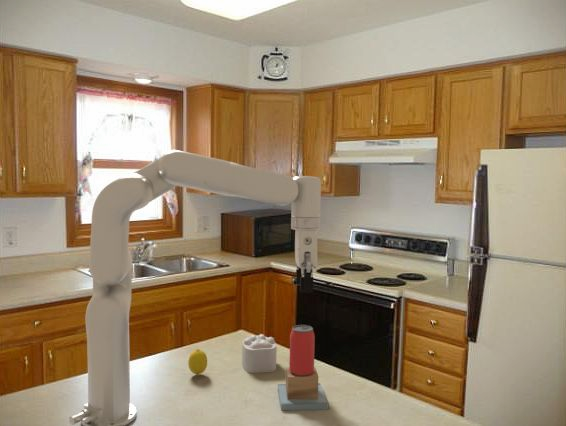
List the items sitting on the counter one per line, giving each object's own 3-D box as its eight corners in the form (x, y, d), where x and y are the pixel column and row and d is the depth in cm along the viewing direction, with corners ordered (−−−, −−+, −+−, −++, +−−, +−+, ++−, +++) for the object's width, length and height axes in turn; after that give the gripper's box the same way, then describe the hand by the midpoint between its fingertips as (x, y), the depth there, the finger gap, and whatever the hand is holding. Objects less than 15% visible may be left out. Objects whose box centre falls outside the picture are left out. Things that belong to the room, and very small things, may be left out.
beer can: (318, 371, 129) (320, 328, 128) (302, 379, 124) (304, 333, 124) (300, 364, 134) (301, 322, 133) (284, 371, 129) (285, 327, 128)
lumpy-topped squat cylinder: (245, 373, 146) (245, 345, 145) (239, 357, 158) (239, 331, 157) (278, 371, 148) (279, 343, 147) (270, 355, 160) (270, 330, 160)
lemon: (205, 379, 141) (205, 352, 140) (186, 378, 141) (186, 352, 140) (208, 371, 146) (208, 346, 146) (190, 371, 146) (190, 345, 146)
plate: (281, 410, 123) (281, 404, 123) (277, 389, 135) (277, 383, 135) (327, 409, 124) (327, 403, 124) (320, 388, 136) (320, 383, 136)
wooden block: (317, 398, 127) (318, 376, 126) (287, 399, 126) (287, 377, 126) (314, 387, 133) (315, 366, 133) (285, 388, 133) (286, 367, 132)
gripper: (325, 227, 118) (323, 296, 119) (314, 220, 135) (313, 280, 136) (294, 227, 117) (293, 296, 118) (288, 220, 134) (286, 280, 136)
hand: (304, 288), depth 127 cm, fingers open, 9 cm apart
